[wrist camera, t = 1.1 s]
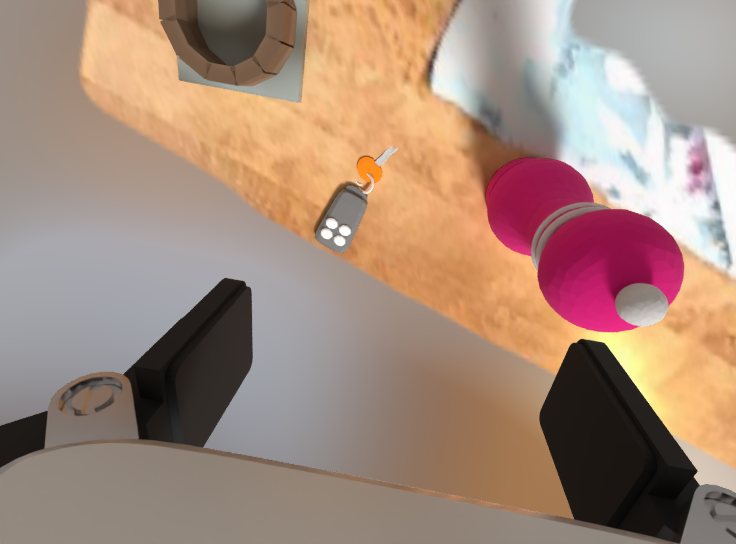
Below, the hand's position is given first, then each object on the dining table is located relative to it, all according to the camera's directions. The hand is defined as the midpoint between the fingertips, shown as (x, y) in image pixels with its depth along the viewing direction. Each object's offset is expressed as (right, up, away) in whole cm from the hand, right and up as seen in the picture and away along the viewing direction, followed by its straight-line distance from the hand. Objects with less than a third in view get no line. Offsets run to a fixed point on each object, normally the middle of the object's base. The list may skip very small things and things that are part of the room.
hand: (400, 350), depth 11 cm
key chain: (-2, +10, +24) cm, 26 cm away
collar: (-11, +22, +18) cm, 31 cm away
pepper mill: (+12, +9, +22) cm, 27 cm away
